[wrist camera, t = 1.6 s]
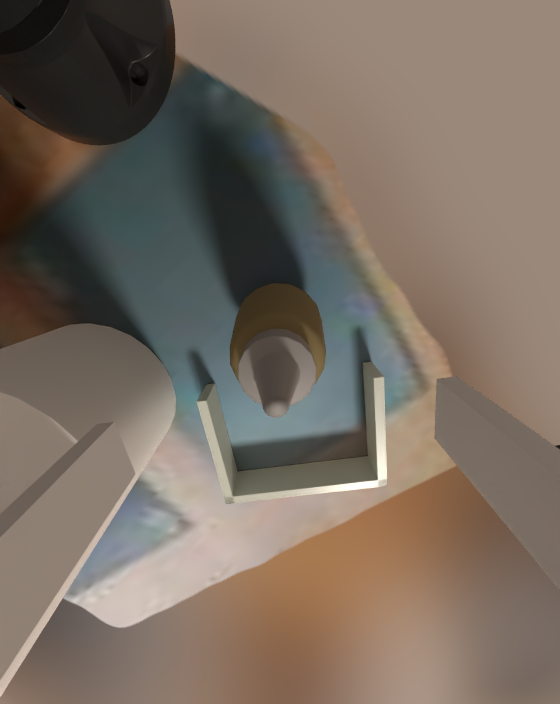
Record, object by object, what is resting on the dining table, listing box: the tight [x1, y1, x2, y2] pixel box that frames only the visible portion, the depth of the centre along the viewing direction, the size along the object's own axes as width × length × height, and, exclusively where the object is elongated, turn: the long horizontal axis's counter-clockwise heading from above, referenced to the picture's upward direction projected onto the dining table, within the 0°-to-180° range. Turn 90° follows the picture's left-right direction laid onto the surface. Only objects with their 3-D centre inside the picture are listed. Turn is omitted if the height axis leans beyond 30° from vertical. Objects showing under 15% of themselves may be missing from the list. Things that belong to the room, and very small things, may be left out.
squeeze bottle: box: [230, 283, 326, 418], centre depth 21 cm, size 8×8×18 cm
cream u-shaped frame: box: [197, 362, 387, 504], centre depth 32 cm, size 14×19×4 cm
